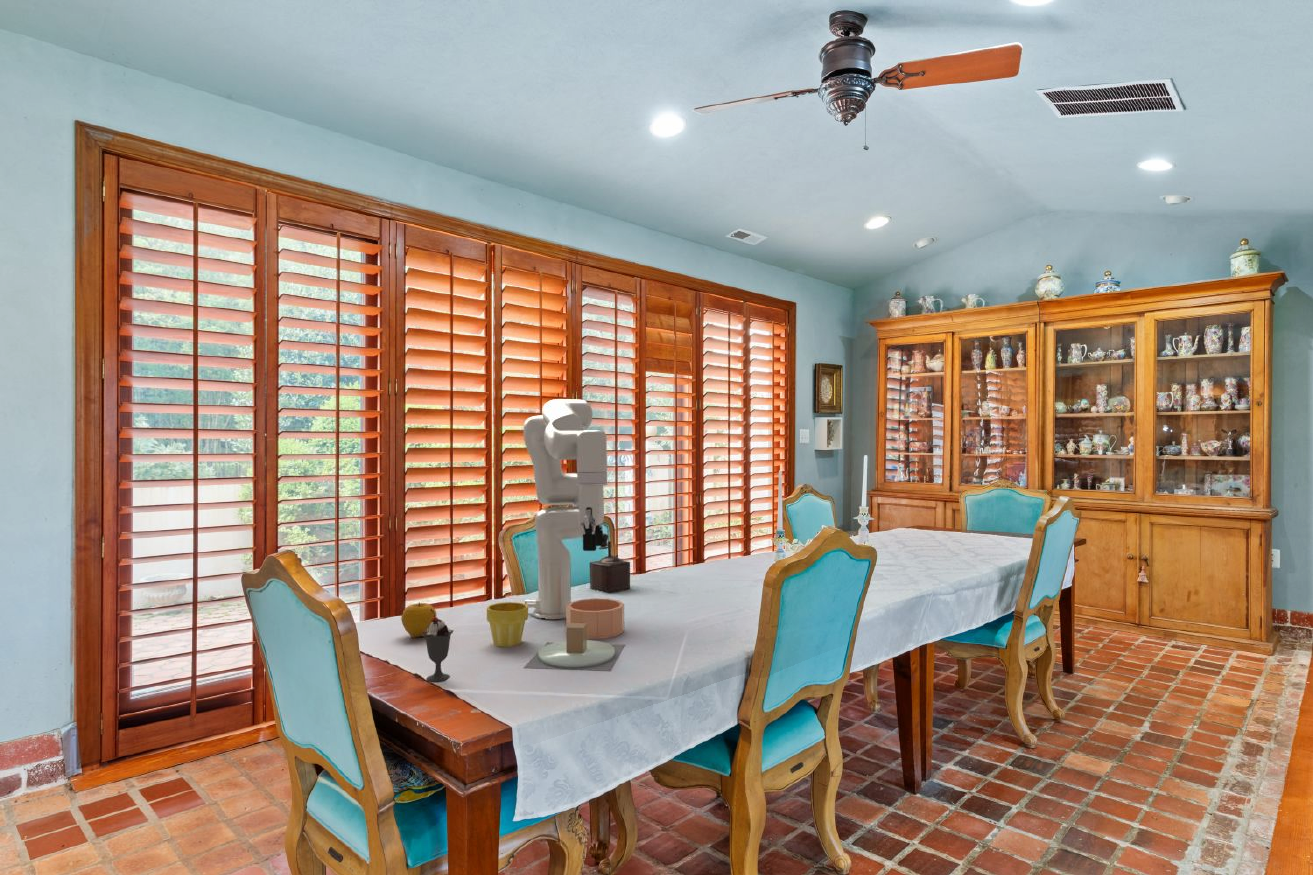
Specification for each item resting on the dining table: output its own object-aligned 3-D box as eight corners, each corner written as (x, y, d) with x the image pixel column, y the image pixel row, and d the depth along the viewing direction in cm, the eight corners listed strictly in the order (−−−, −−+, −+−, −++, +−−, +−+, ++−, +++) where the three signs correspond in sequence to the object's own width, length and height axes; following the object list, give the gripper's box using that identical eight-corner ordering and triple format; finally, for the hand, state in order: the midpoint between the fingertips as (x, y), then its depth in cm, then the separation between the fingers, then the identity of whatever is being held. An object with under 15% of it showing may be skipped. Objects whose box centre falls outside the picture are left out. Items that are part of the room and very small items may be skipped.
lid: (528, 666, 162) (528, 634, 162) (549, 643, 180) (549, 615, 180) (607, 669, 160) (606, 636, 160) (620, 645, 178) (620, 616, 178)
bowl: (561, 639, 185) (561, 610, 185) (574, 624, 200) (574, 597, 200) (618, 641, 184) (618, 612, 184) (627, 626, 198) (627, 599, 198)
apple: (425, 641, 184) (425, 607, 184) (394, 640, 186) (393, 605, 186) (442, 632, 193) (442, 599, 193) (412, 630, 195) (412, 597, 195)
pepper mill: (632, 588, 248) (632, 536, 247) (607, 593, 240) (607, 539, 240) (604, 581, 259) (604, 532, 259) (580, 586, 251) (579, 535, 251)
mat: (523, 670, 161) (523, 667, 161) (547, 644, 181) (547, 642, 181) (610, 673, 159) (610, 670, 159) (625, 646, 179) (625, 644, 179)
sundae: (425, 673, 159) (425, 606, 159) (456, 672, 160) (456, 605, 160) (418, 683, 153) (418, 613, 153) (450, 682, 153) (450, 613, 153)
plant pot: (535, 640, 185) (535, 603, 185) (515, 652, 175) (515, 612, 175) (500, 637, 188) (500, 600, 188) (478, 648, 178) (478, 609, 178)
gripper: (584, 478, 188) (585, 544, 187) (570, 480, 171) (571, 552, 170) (612, 478, 187) (613, 543, 187) (601, 480, 170) (602, 552, 169)
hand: (593, 548), depth 178 cm, fingers open, 9 cm apart
